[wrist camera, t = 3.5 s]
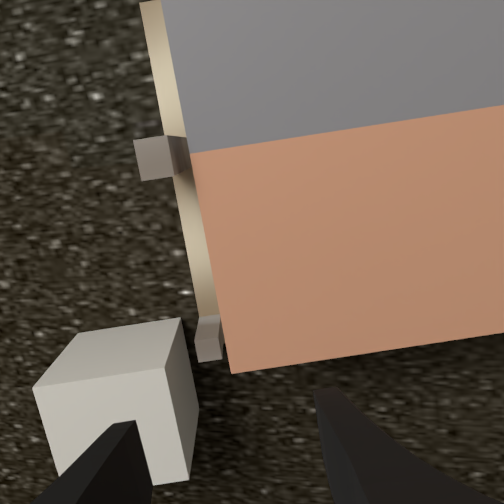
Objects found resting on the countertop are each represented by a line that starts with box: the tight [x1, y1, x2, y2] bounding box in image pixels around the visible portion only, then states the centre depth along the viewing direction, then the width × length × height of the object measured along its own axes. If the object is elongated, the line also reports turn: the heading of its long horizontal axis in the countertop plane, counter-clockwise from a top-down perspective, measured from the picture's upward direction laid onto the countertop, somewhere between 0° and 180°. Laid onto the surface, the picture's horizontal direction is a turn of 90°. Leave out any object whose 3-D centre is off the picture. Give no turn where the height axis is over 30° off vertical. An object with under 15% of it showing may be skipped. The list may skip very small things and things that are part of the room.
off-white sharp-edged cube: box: [32, 317, 199, 485], centre depth 20 cm, size 5×5×5 cm
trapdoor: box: [161, 0, 504, 374], centre depth 16 cm, size 13×12×3 cm
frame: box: [133, 0, 225, 363], centre depth 17 cm, size 15×15×6 cm
